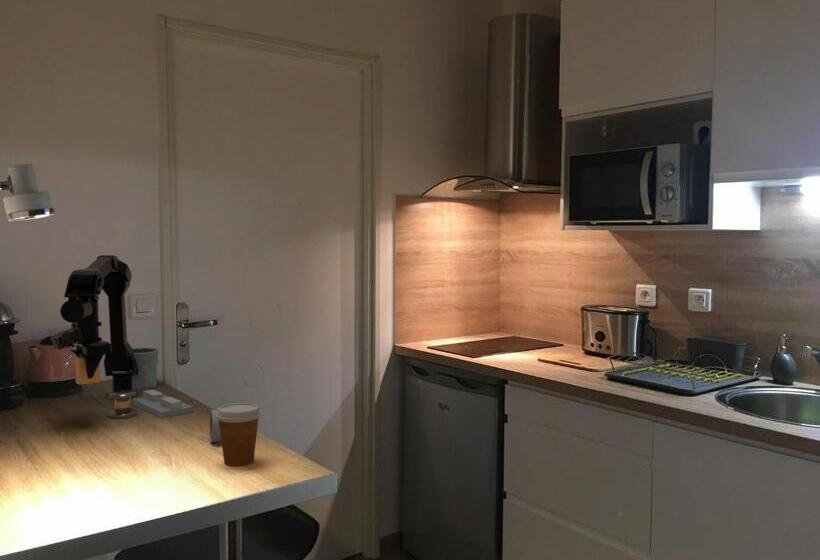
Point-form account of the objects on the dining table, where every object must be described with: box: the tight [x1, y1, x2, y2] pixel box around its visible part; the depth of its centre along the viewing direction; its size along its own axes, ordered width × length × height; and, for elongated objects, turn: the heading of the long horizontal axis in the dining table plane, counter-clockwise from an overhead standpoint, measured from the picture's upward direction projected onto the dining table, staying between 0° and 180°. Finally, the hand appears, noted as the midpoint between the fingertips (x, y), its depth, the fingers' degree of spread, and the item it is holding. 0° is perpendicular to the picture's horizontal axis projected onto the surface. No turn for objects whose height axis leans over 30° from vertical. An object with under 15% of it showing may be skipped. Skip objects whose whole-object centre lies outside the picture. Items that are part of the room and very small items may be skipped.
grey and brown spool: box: [108, 390, 138, 419], centre depth 192 cm, size 7×7×6 cm
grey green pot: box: [131, 347, 159, 390], centre depth 226 cm, size 10×10×12 cm
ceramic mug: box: [209, 409, 221, 444], centre depth 170 cm, size 11×8×8 cm
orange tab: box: [75, 356, 101, 386], centre depth 185 cm, size 3×5×7 cm, turn 133°
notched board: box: [131, 389, 194, 419], centre depth 199 cm, size 20×9×4 cm, turn 43°
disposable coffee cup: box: [216, 402, 262, 467], centre depth 153 cm, size 10×10×12 cm
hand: (88, 377), depth 185 cm, fingers closed on orange tab, 3 cm apart
